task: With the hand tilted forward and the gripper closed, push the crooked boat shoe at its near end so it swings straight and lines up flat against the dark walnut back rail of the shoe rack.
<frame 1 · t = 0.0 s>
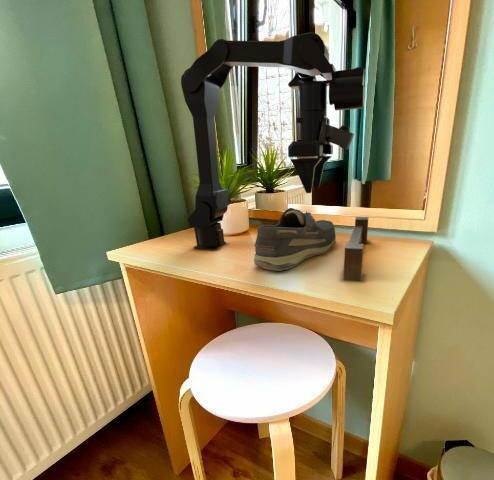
hand: (313, 190, 69), 15 cm above the table, tool pointing down, fingers open, 9 cm apart
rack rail: (354, 256, 70), on the table
boat shoe: (302, 254, 73), on the table
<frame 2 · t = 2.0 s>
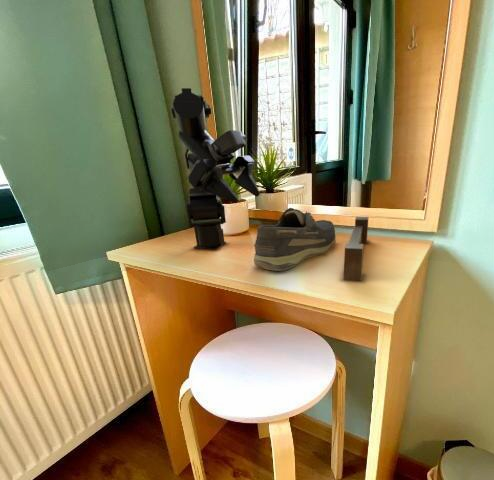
hand: (248, 198, 68), 14 cm above the table, tool tilted 45°, fingers open, 9 cm apart
nothing on the table moved.
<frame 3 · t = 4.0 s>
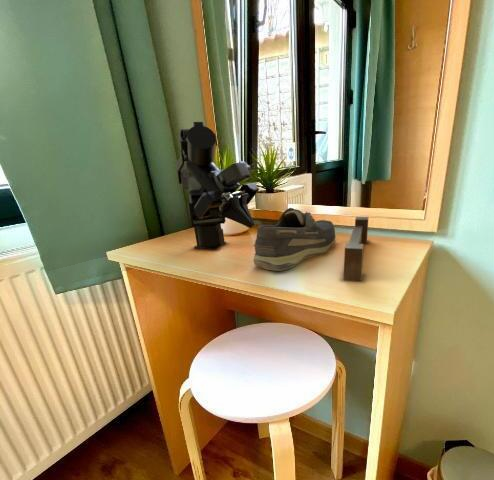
hand: (252, 226, 70), 7 cm above the table, tool tilted 45°, fingers closed
nothing on the table moved.
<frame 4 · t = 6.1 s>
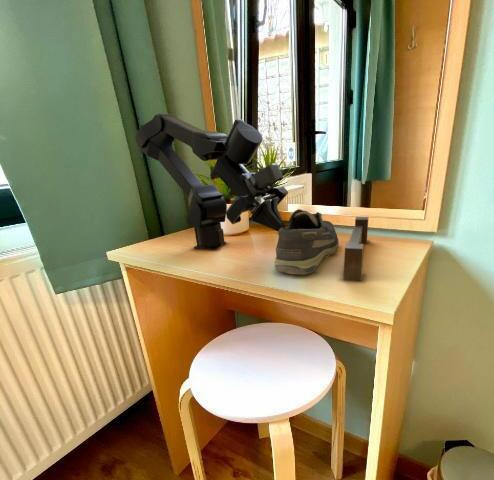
hand: (284, 231, 67), 7 cm above the table, tool tilted 45°, fingers closed
boat shoe: (312, 256, 72), on the table, touching gripper
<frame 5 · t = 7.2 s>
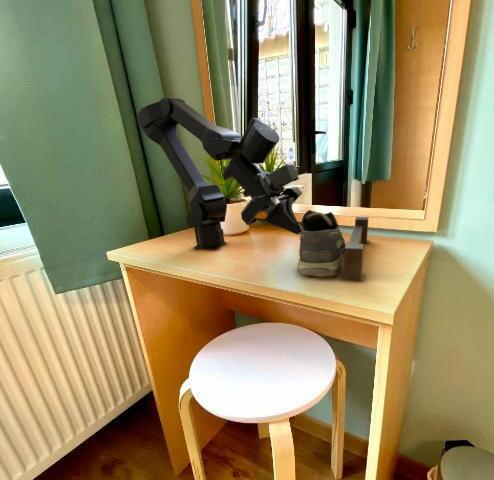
hand: (299, 232, 66), 7 cm above the table, tool tilted 45°, fingers closed
boat shoe: (323, 257, 71), on the table, touching gripper
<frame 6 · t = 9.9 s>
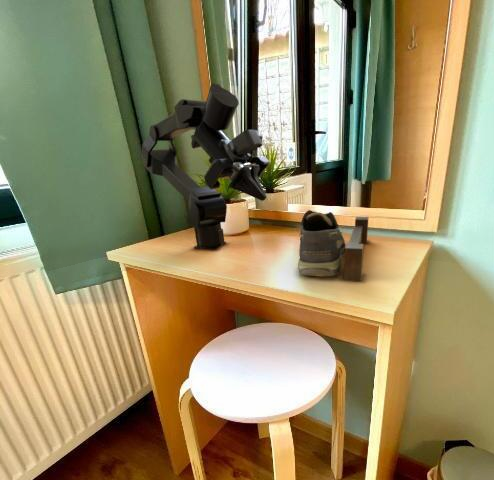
hand: (264, 199, 67), 13 cm above the table, tool tilted 45°, fingers closed
boat shoe: (323, 257, 71), on the table
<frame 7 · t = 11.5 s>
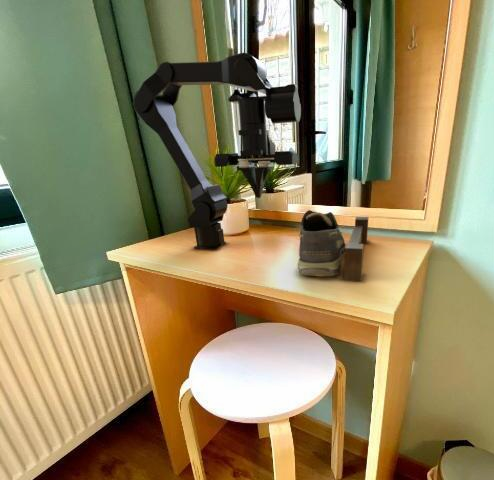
hand: (258, 197, 73), 13 cm above the table, tool pointing down, fingers closed
nothing on the table moved.
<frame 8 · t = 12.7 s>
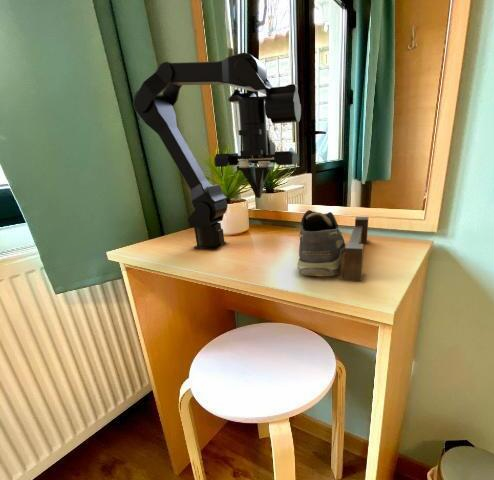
hand: (258, 197, 73), 13 cm above the table, tool pointing down, fingers closed
nothing on the table moved.
at the end: boat shoe inside the target area (1.0 cm from its centre), on the table; boat shoe moved 5.5 cm from its start; boat shoe tilted 0° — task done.
